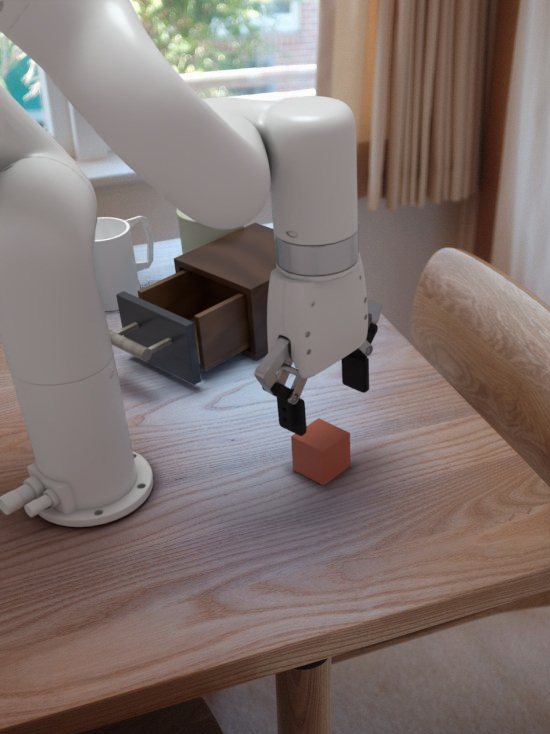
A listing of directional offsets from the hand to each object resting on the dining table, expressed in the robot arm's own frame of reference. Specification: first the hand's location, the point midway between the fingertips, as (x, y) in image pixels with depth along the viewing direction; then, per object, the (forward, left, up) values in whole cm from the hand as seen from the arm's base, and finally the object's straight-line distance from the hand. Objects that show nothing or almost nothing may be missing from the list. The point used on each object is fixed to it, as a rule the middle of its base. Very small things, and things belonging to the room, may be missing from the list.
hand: (325, 408), depth 92 cm
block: (0, 0, -8) cm, 8 cm away
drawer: (+6, +28, -7) cm, 30 cm away
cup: (+13, +49, -8) cm, 52 cm away
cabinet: (+19, +28, -8) cm, 35 cm away
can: (+23, +40, -8) cm, 47 cm away
